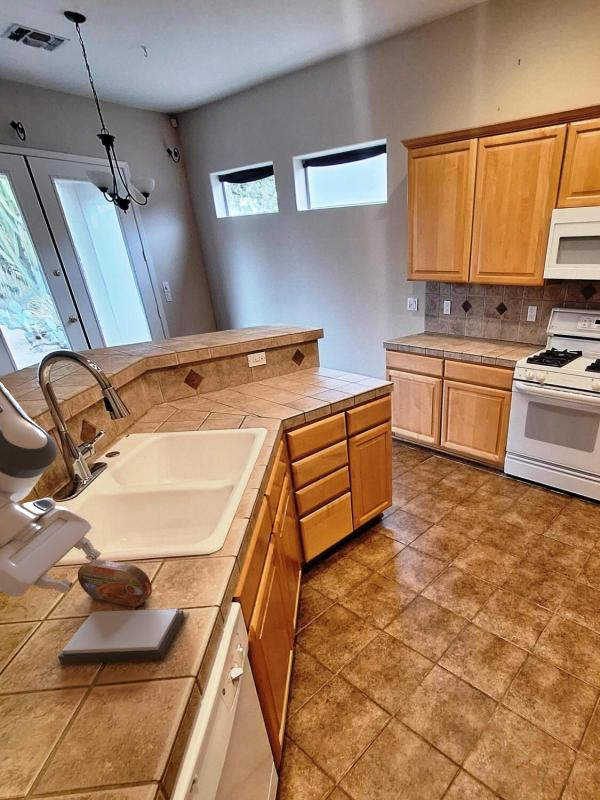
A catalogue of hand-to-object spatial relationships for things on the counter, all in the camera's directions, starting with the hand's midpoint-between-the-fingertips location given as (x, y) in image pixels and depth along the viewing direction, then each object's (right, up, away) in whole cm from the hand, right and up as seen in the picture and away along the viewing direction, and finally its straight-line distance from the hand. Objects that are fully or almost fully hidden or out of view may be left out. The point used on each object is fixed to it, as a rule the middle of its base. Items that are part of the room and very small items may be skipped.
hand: (84, 572), depth 82 cm
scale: (+12, -11, -7) cm, 18 cm away
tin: (+5, -6, +3) cm, 9 cm away
